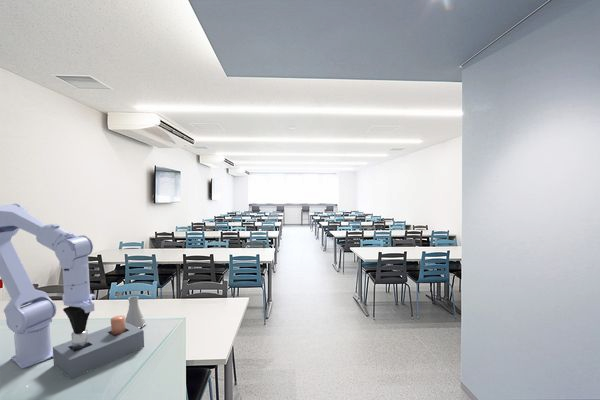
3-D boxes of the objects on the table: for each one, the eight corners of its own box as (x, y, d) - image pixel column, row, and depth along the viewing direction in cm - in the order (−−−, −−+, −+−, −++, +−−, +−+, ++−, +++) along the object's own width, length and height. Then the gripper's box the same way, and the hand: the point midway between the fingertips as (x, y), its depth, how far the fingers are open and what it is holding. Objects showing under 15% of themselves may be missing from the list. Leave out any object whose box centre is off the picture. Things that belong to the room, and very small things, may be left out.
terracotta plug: (109, 333, 96) (108, 318, 96) (121, 329, 99) (120, 314, 99) (115, 337, 94) (114, 321, 94) (127, 332, 97) (127, 317, 97)
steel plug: (70, 349, 88) (69, 333, 88) (85, 343, 91) (84, 327, 91) (75, 353, 86) (74, 336, 86) (90, 347, 89) (90, 331, 89)
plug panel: (53, 365, 88) (52, 347, 88) (125, 336, 104) (124, 321, 103) (71, 379, 82) (69, 359, 82) (144, 346, 97) (143, 330, 97)
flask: (119, 332, 106) (118, 302, 106) (125, 323, 113) (124, 294, 113) (143, 330, 108) (142, 300, 107) (148, 320, 115) (147, 292, 114)
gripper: (105, 283, 86) (108, 333, 87) (81, 274, 95) (84, 320, 96) (75, 291, 81) (78, 344, 81) (52, 281, 89) (55, 329, 90)
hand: (79, 332), depth 88 cm, fingers closed, pressing on steel plug
